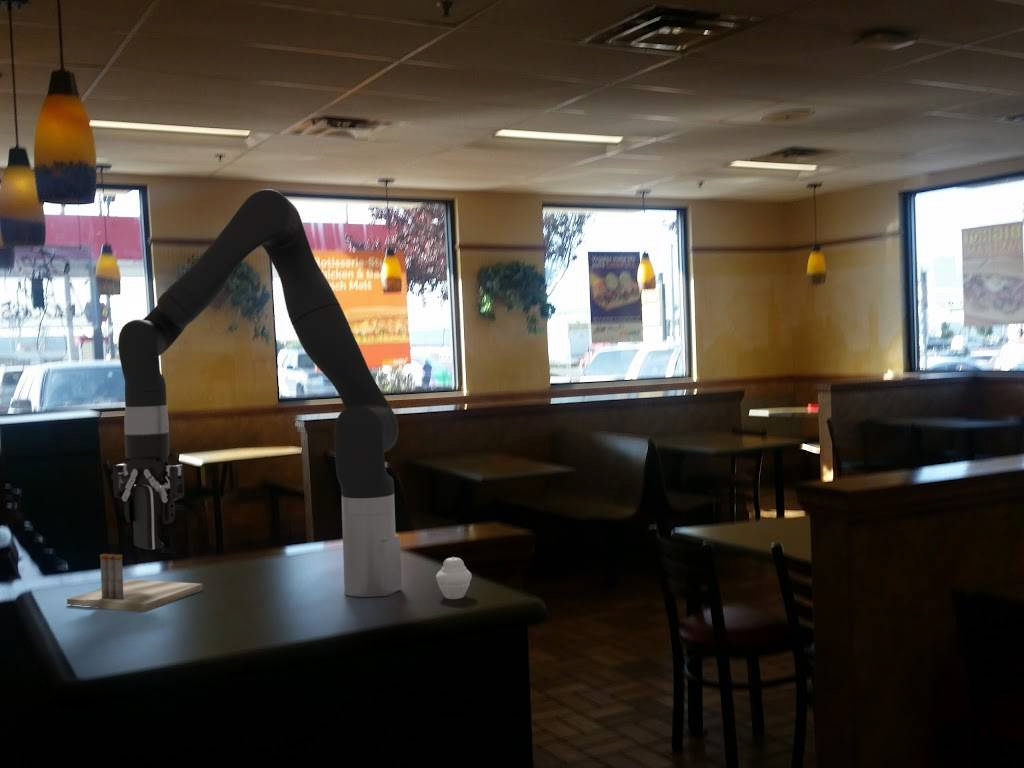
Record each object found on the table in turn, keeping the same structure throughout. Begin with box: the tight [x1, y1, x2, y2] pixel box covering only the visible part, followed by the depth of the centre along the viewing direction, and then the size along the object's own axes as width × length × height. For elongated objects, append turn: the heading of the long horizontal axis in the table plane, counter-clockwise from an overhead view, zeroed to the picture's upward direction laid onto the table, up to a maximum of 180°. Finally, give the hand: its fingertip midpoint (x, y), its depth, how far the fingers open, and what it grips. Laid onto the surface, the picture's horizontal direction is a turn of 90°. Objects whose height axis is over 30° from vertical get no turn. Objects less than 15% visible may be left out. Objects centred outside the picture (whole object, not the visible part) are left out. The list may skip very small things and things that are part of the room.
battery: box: [132, 485, 164, 550], centre depth 187 cm, size 7×4×11 cm, turn 43°
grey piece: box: [435, 556, 473, 600], centre depth 178 cm, size 6×6×7 cm
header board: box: [66, 553, 204, 612], centre depth 184 cm, size 16×16×9 cm
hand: (149, 522), depth 187 cm, fingers closed on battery, 7 cm apart
